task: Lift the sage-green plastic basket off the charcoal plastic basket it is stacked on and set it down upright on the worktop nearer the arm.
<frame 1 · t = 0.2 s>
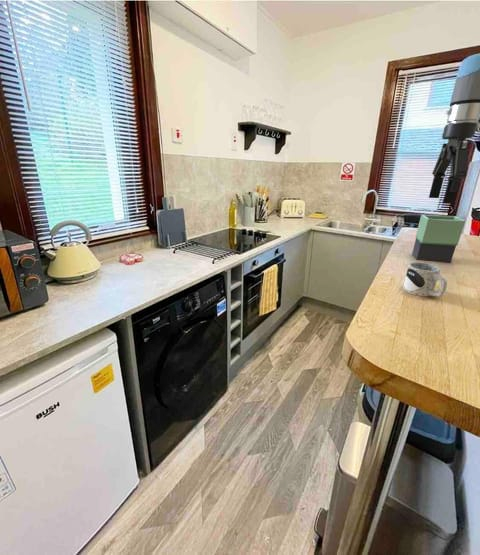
hand: (440, 200, 85), 20 cm above the counter, tool pointing down, fingers open, 13 cm apart
mug: (422, 294, 69), on the counter
green basket: (435, 241, 92), point 6 cm above the counter, touching charcoal basket
charcoal basket: (430, 258, 94), on the counter
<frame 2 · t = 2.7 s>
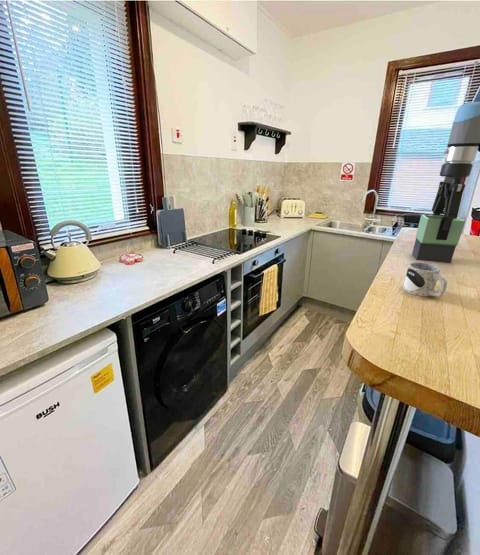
hand: (436, 236, 91), 8 cm above the counter, tool pointing down, fingers closed on green basket, 8 cm apart
green basket: (435, 241, 92), point 6 cm above the counter, touching charcoal basket, gripper
everything else where it was.
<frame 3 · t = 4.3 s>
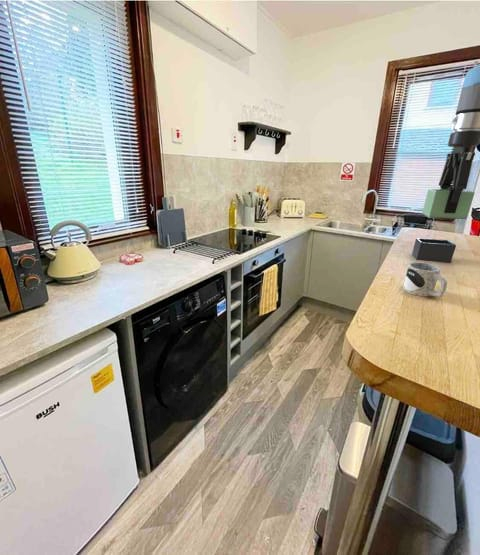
hand: (444, 210, 88), 16 cm above the counter, tool pointing down, fingers closed on green basket, 8 cm apart
green basket: (443, 216, 89), point 14 cm above the counter, touching gripper
everything else where it was.
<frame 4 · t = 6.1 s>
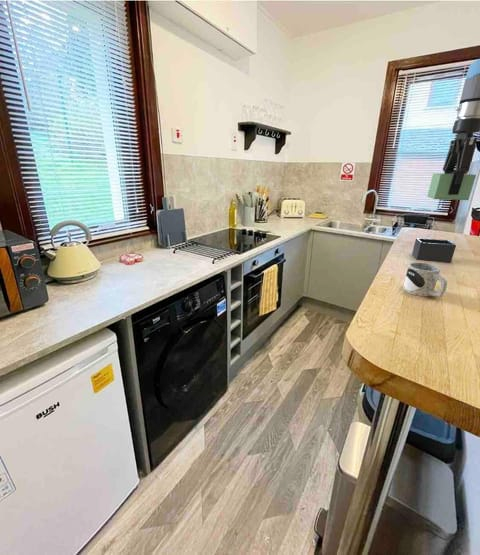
hand: (448, 193, 96), 21 cm above the counter, tool pointing down, fingers closed on green basket, 8 cm apart
green basket: (446, 198, 96), point 19 cm above the counter, touching gripper
everything else where it was.
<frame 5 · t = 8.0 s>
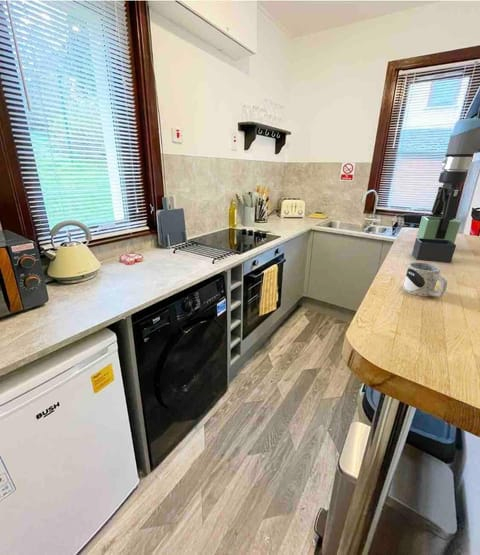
hand: (435, 235, 103), 5 cm above the counter, tool pointing down, fingers closed on green basket, 8 cm apart
green basket: (434, 240, 103), point 3 cm above the counter, touching gripper
everything else where it was.
when the fingers open (2 cm above the counter, at t = 9.4 s): green basket stays where it is, on the counter.
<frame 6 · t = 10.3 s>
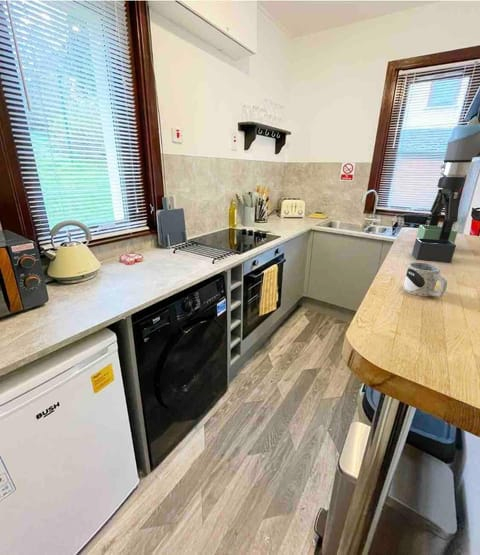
hand: (437, 236, 103), 5 cm above the counter, tool pointing down, fingers open, 13 cm apart
green basket: (431, 248, 105), on the counter
everything else where it was.
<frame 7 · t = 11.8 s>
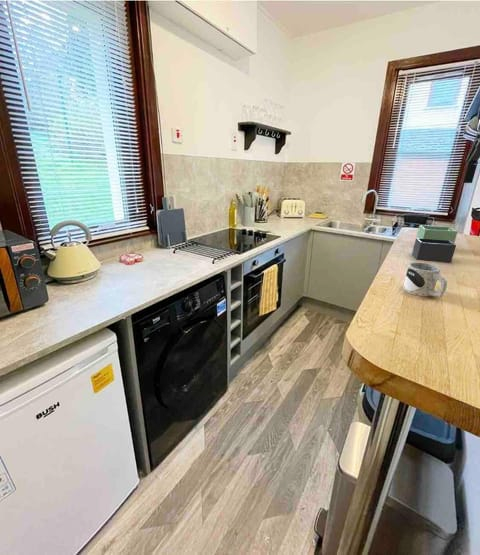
hand: (475, 184, 98), 23 cm above the counter, tool pointing down, fingers open, 13 cm apart
nothing on the counter moved.
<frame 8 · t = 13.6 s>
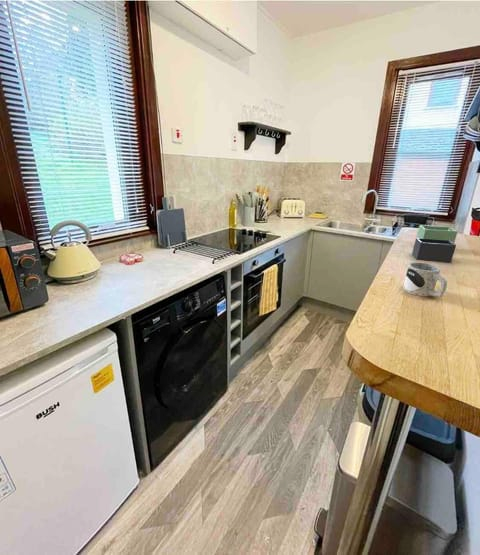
nothing on the counter moved.
at the end: green basket inside the target area (0.1 cm from its centre), on the counter; green basket touching counter; green basket tilted 0° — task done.
